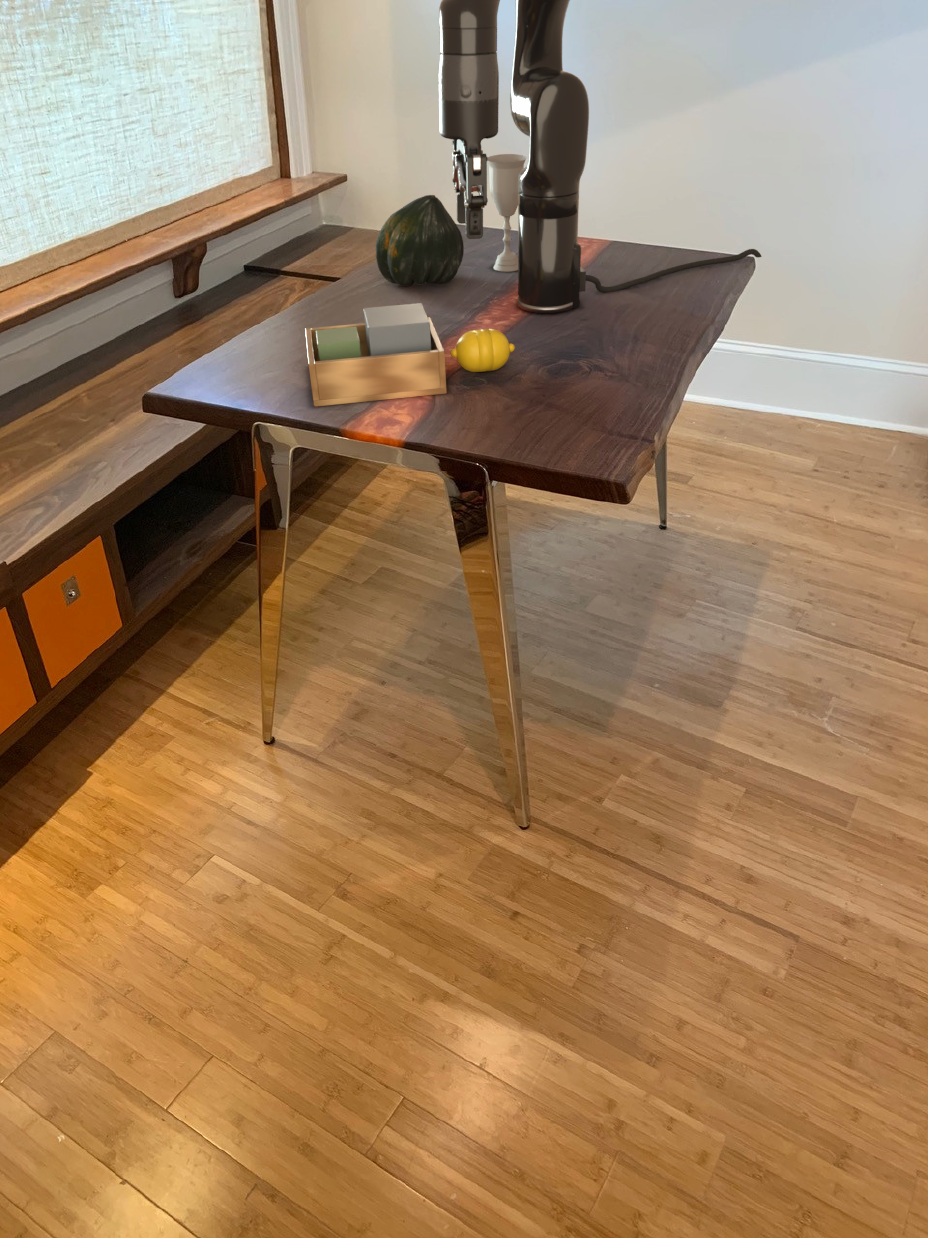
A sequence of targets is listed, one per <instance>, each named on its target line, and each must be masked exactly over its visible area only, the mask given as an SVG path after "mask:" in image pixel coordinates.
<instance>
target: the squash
mask: <svg viewBox="0 0 928 1238" xmlns="http://www.w3.org/2000/svg"><path fill="white" fill-rule="evenodd" d="M464 249H465V247H464V238H463V235H462V232H461V230H460V229H459V227H458V225H457V223H456V222H455V220H454V218H453V217H452V216H451V214H450V213H449V212H448V210H447V209H446V208H445V206H444V204H443V202H442V201H441V199H440V198H438V197H437V196H436V195H435V194H427V195H422V196H421V197H418V198H415V199H413V200H412V201H410V202H408V203H407V204H405V205H404V206H402V207H401V208H399V209H397V210H396V211H395V212H393V213H392V214H391V215H389V217H388V218H387V220H386V221H385V222H384V224H383V225H382V227H381V228H380V231H379V234H378V235H377V239H376V242H375V258H376V264H377V268H378V271H379V272H380V274H381V276H382V277H383V278H384V279H385V280H386V281H388V282H389V283H391V284H395V285H399V286H401V287H409V286H410V287H411V286H412V285H413V284H416V285H417V286H418V285H419V286H421V285H424V284H435V285H443V284H447V283H450V282H451V281H452V280H453V279H454V278H455V277H456V275H457V273H458V271H459V269H460V266H461V265H462V262H463V259H464V252H465V251H464Z"/></svg>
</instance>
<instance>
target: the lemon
mask: <svg viewBox="0 0 928 1238" xmlns="http://www.w3.org/2000/svg"><path fill="white" fill-rule="evenodd" d="M515 349H516V346H515V344H513V343H509V339H508V338H507V336H506V335H505V334H504V333H503V332H502V331H500V330H498V329H494V328H481V329H473V330H468V331H466V332H465V333H463V334H462V335H461V336H460V337H459V338H458V340H457V342H456V344H455V348H452V349H451V350H450V352H449V353H450V356H451V358H453V359H456V361H457V362H458V364H459V365H460V367H462V369H464V370H465V371H467V372H472V373H483V372H492V371H497V370H499V369H500V368H502V367H504V365H505V364H506V363H507V361H509V358H510V354H511V353H513V352H514V351H515Z"/></svg>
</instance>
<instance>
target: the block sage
mask: <svg viewBox="0 0 928 1238" xmlns="http://www.w3.org/2000/svg"><path fill="white" fill-rule="evenodd" d="M316 336H317V345H318V352H319V360H320V361H326V360H337V359H347V358H358V357H361V350H360V341H359V336H358V332H357V327H347V328H336V329H325V330H316Z"/></svg>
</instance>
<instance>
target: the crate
mask: <svg viewBox="0 0 928 1238" xmlns="http://www.w3.org/2000/svg"><path fill="white" fill-rule="evenodd" d="M427 317H428V316H427ZM428 320H429V322H430V337H431V351H421V352H410V353H400V354H389V355H379V356H368V350H367V340H366V329H365V322H363V323H362V322H361V323H351V324H340V325H329V326H319V327H308V328H304V330H305V332H304V333H305V343H306V354H307V362H308V363H307V365H308V371H309V379H310V385H311V386H310V387H311V393H312V394H311V395H312V400H313V406H314V408H315V407H325V406H334V405H344V404H345V405H346V404H354V403H355V404H356V403H364V402H365V403H366V402H374V401H385V400H393V399H404V398H405V399H406V398H414V397H424V396H433V395H443V394H447V374H446V354H445V353H446V352H445V349H444V347H443V345H442V342H441V340H440V337H439V334H438V333H437V330H436V328H435V326H434V323H433V320H432V318H431V317H430V316H429V317H428ZM347 327H357V332H358V336H359V341H360V350H361V357H358V358H347V359H337V360H326V361H320V360H319V352H318V345H317V336H316V330H325V329H336V328H347Z"/></svg>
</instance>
